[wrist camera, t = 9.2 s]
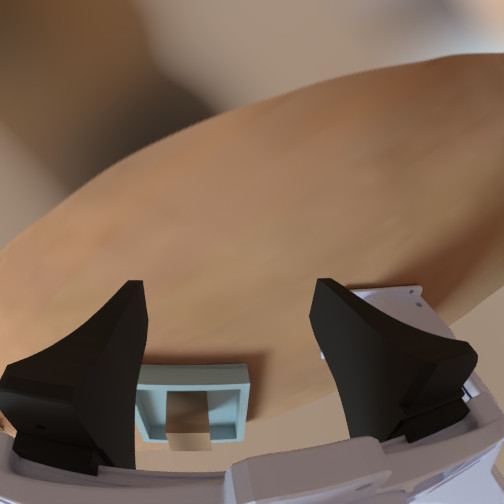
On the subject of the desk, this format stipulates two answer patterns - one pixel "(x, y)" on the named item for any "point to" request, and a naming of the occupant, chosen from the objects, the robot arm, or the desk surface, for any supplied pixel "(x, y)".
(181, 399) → the walnut block
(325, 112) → the desk surface
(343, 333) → the robot arm
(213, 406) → the tray
